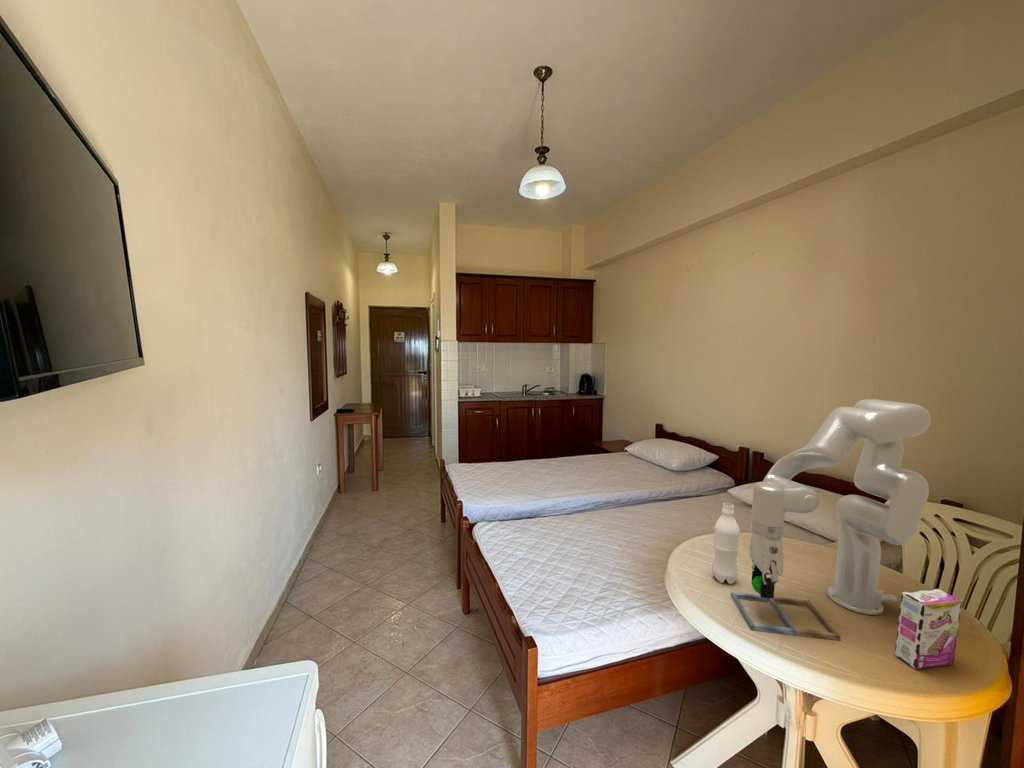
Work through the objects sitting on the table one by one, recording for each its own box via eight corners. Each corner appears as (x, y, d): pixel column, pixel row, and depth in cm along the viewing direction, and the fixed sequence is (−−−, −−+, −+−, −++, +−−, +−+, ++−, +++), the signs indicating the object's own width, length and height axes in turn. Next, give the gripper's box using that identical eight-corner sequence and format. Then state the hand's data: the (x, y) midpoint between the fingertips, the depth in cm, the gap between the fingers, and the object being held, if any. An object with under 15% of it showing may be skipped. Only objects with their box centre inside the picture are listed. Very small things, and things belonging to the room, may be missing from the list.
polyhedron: (753, 586, 116) (754, 570, 116) (773, 593, 113) (774, 576, 112) (750, 594, 112) (751, 577, 112) (771, 601, 109) (772, 584, 109)
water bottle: (735, 588, 125) (739, 510, 123) (709, 580, 129) (713, 505, 127) (738, 578, 131) (742, 503, 129) (714, 571, 135) (718, 498, 133)
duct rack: (808, 604, 118) (809, 600, 117) (840, 640, 103) (840, 636, 103) (730, 595, 121) (731, 592, 121) (750, 629, 107) (750, 625, 107)
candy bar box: (917, 671, 93) (923, 604, 92) (893, 655, 98) (899, 591, 97) (956, 665, 95) (963, 599, 93) (931, 650, 100) (937, 587, 98)
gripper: (797, 544, 102) (792, 612, 103) (768, 516, 119) (763, 575, 120) (765, 541, 103) (760, 608, 105) (740, 514, 120) (736, 573, 121)
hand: (762, 590), depth 112 cm, fingers closed on polyhedron, 5 cm apart
